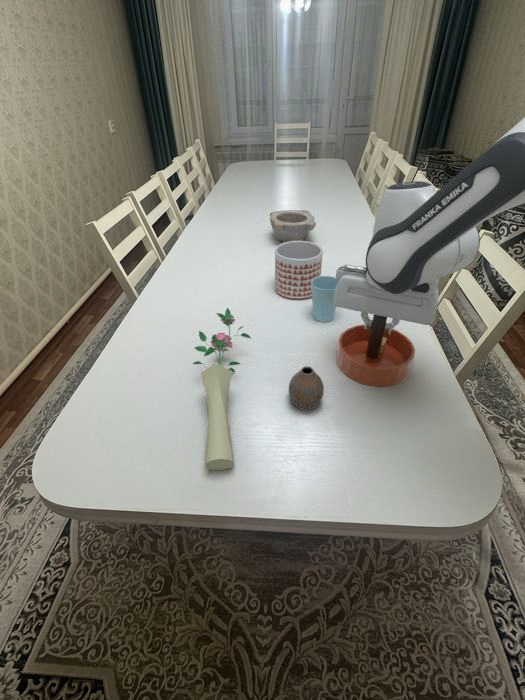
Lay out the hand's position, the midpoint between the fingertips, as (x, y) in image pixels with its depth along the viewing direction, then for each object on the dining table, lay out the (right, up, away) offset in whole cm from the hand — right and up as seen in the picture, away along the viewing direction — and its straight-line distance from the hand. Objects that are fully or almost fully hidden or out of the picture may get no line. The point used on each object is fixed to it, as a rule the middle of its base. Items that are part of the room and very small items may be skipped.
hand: (377, 330), depth 78 cm
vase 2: (-14, +14, +33) cm, 39 cm away
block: (+2, -5, +7) cm, 8 cm away
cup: (-8, +5, +20) cm, 23 cm away
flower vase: (-33, -15, -3) cm, 37 cm away
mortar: (-13, +40, +65) cm, 77 cm away
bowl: (0, -7, +5) cm, 9 cm away
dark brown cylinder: (0, -5, +4) cm, 7 cm away
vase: (-16, -15, -4) cm, 23 cm away
